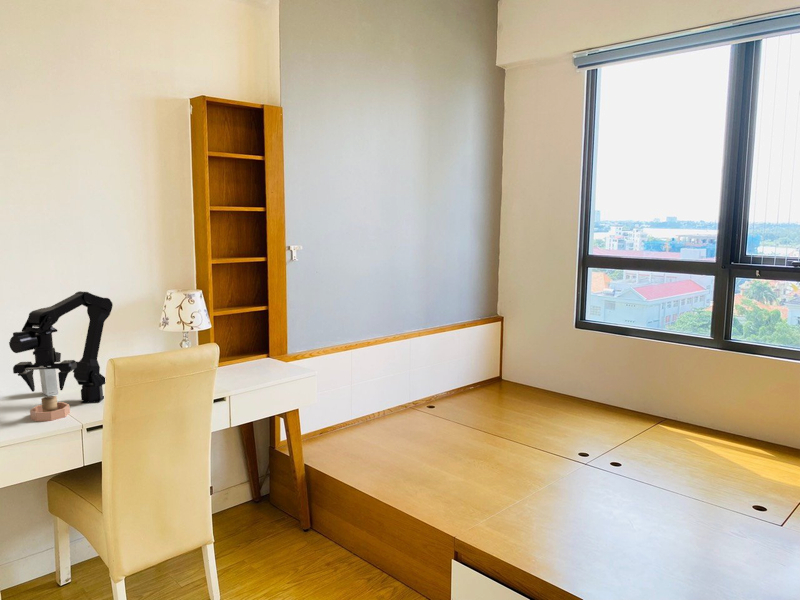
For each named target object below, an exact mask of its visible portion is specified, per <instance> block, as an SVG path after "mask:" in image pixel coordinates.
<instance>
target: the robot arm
mask: <svg viewBox="0 0 800 600" xmlns="http://www.w3.org/2000/svg"><path fill="white" fill-rule="evenodd" d="M113 305H114V304H113V302H112V301H111V299H110V298H109V297H102V296H99V295H96V294H93V293H91V292H88V291H77V292H75V293H74V294H72V295H70V296H68V297H67V298H65V299H63V300H61V301H58V302H57V303H55V304H53V305H51V306H47V307H43V308H41V307H40V308H38V309H35V310H32V311H31V312H29V314H28V317H27V320H26V321H25V324H24V325H23V327H22V329H21V331H15V332H12V336H11V338H10V339H9V342H8V344H9V348H10V350H11V351H12V352H13V353H15V354H19V353H24V352H27V351H32V350H33V351H32V355H34V359H35V362H34V363H32V361H19V362H18V363H16V364H14V366H13V367H12V373H13V374H17V376H18V377H19V376H20V377H21V379H23V381H24V382H25V383H26V385H27V386H28V387H29V389H30V391H31V392H35V389H36V388H35V387H36V386H35V380H34V370H35V371H36V370H38V371H39V369H56V370H59V372H58V373H57V374H58V375H57V376H58V384H59V390H60V391H63V390H64V386H65V383H66V379H67V377H68V375H69V373H71V372H72V373H73V378H74V379H75V380H76V382H77V385H79V386H81V389H80V397H81V402H80V403H82V404H89V403H90V404H91V403H100V402H101V401H103V399H105V398H104V396H105V395H104V391H103V385H105V384H106V382H105V378H106V377H105V376H104V375H103V374H101V372H100V370H101V367H100V364H99V361H98V357H99V351H100V345H101V340H102V335H103V329H104V325H105V321H106V320H108V318H109V317H110V315H111V313H112V310H113ZM80 306H81V307H82V306H83V307H86V308H87V309H86V312H87V316H88V317H89V318H88V319H89V323H88V329H87V333H86V336H85V337H86V339H85V342H84V348H83V353H82V358H80V360H79V361H76V360H75V359H67V360H62V361H61V357H62V353H61V352H58V351H56V349H55V347H54V344H53V343H54V342H53V333H58V331H59V330H58V329H57V328H56V327H54V325H55V324H56V323H57V322H58V321H59V319H60V318H61V317H62V316H64V315H66V314H68V313H69V312H72V311H73V310H75V309H77V308H79V307H80ZM40 366H43V367H40ZM47 366H51V367H47Z"/></svg>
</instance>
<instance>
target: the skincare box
mask: <svg viewBox="0 0 800 600" xmlns="http://www.w3.org/2000/svg"><path fill="white" fill-rule="evenodd" d="M40 367H43V366H40ZM47 367H51V366H47ZM38 371H39V377H40V383H41V392H42V394H43V395H45V396H46V397H47V396H57V395H58V394H59V387H58V379H57V369H38Z"/></svg>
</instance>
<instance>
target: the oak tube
mask: <svg viewBox="0 0 800 600" xmlns="http://www.w3.org/2000/svg"><path fill="white" fill-rule="evenodd" d="M57 399H58V398H57V395H51V396H47V395H46V396H44V397H42V398H41V405H42V410H43V412H51V411H55V410H58V408H57V402H58V400H57Z"/></svg>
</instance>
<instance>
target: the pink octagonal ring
mask: <svg viewBox="0 0 800 600" xmlns="http://www.w3.org/2000/svg"><path fill="white" fill-rule="evenodd" d="M57 408H58V410H55V411H51V412H43V410H42V404H38V405H35V406H34V407H32V408H31V409H29V413H30V419H31V421H32V420H33V421H35V422H48V421H49V422H50V421H55V420H59V419H63V418H65V417H67V416H68V415H69V414H71V409H70V404H69V403H67V402H63V401H57Z"/></svg>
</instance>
